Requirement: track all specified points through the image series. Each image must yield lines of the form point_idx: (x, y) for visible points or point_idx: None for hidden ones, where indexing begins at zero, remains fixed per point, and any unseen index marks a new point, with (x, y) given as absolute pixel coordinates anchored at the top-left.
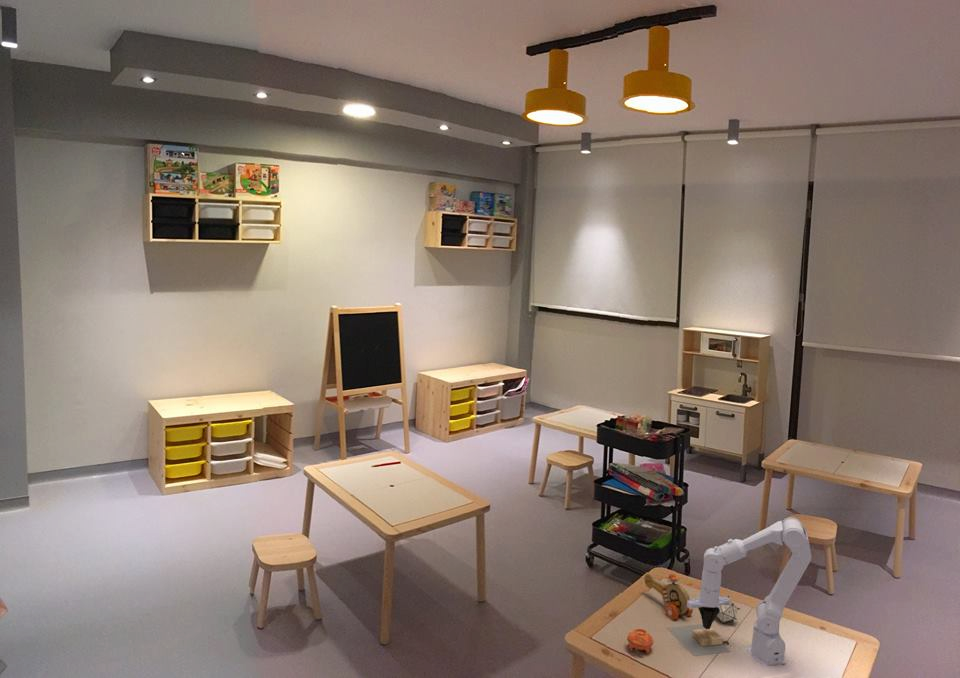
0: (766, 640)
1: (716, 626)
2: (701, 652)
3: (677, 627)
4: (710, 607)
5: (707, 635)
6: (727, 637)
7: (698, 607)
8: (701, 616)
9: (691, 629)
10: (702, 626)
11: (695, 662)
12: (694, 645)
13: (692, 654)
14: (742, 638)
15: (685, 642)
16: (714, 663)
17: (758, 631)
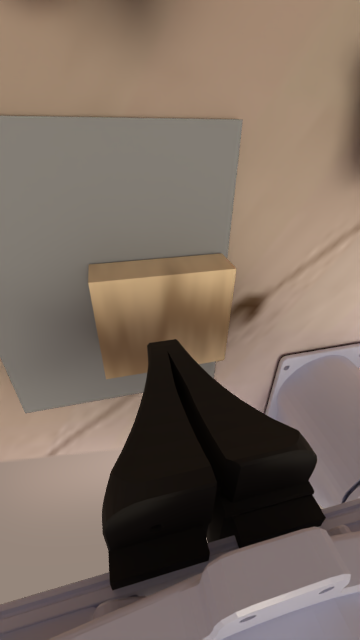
0: (326, 497)
1: (323, 153)
2: (76, 391)
3: (14, 131)
4: (226, 533)
5: (158, 339)
6: (288, 271)
7: (62, 597)
8: (144, 394)
9: (126, 182)
10: (228, 156)
11: (22, 430)
12: (64, 345)
13: (22, 404)
14: (342, 284)
15: (17, 320)
16: (105, 427)
17: (342, 499)
